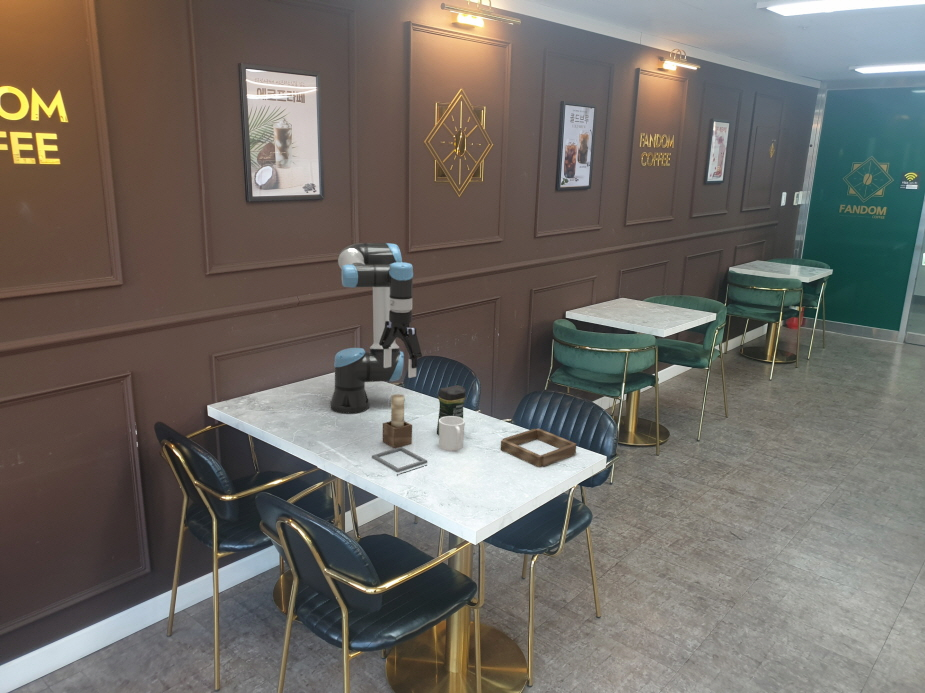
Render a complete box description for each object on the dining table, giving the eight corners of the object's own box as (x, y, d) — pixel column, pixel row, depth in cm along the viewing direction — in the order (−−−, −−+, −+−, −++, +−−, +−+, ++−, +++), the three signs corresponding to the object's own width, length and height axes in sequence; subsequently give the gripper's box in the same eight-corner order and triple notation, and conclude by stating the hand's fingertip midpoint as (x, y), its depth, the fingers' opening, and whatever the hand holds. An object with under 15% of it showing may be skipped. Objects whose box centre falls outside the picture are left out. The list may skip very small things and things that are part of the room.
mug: (434, 445, 246) (434, 417, 243) (457, 442, 249) (458, 414, 247) (445, 457, 236) (446, 428, 233) (470, 454, 239) (471, 425, 237)
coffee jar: (446, 442, 249) (448, 392, 244) (433, 435, 255) (434, 386, 250) (467, 436, 255) (469, 387, 250) (454, 429, 261) (455, 381, 256)
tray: (371, 460, 231) (371, 455, 231) (401, 451, 239) (401, 446, 239) (397, 475, 221) (397, 470, 221) (427, 465, 229) (427, 460, 229)
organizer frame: (498, 449, 245) (499, 439, 244) (536, 436, 257) (536, 427, 256) (540, 468, 231) (540, 458, 230) (577, 453, 243) (578, 444, 243)
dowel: (388, 442, 244) (388, 395, 240) (398, 439, 247) (399, 393, 242) (395, 446, 241) (396, 399, 236) (406, 443, 244) (407, 396, 239)
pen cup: (382, 444, 244) (382, 423, 242) (399, 440, 249) (399, 418, 247) (394, 451, 239) (395, 429, 237) (411, 446, 244) (412, 424, 242)
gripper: (369, 304, 238) (368, 365, 244) (415, 318, 221) (414, 383, 226) (387, 302, 243) (386, 361, 249) (433, 315, 226) (432, 379, 231)
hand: (399, 372), depth 237 cm, fingers open, 13 cm apart
